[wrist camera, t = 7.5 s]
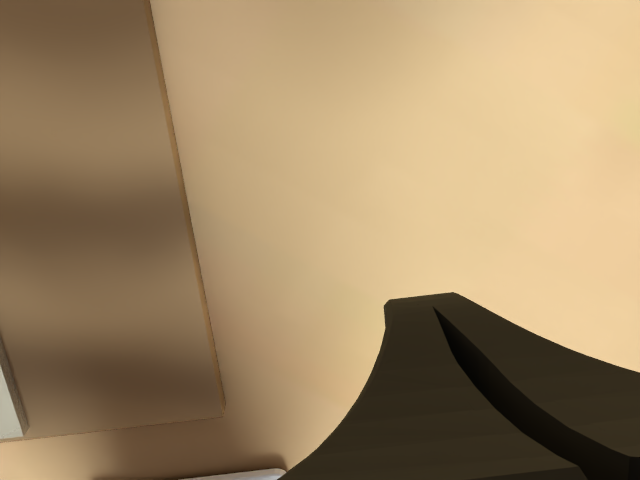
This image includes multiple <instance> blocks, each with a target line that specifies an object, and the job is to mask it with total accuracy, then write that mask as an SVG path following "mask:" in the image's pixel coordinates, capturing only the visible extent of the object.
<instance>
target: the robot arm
mask: <svg viewBox="0 0 640 480" xmlns="http://www.w3.org/2000/svg"><path fill="white" fill-rule="evenodd" d="M384 315H385V327H386V328H385V333H384V337H383V341H382V345H381V349H380V352H379V354H378V357H377V359H376V362H375V365H374V367H373V370H372V372H371V374H370V376H369V379H368V381H367V383H366V384H365V386H364V388H363V390H362V392H361V393H360V395H359V397H358V399H357V400H356V402H355V403H354V405H353V406H352V407H351V409H350V410H349V412H348V413H347V415H346V416H345V418H344V419H343V420H342V422H341V423H340V424H339V425H338V427H337V428H336V429H335V430H334V431H333V432H332V433H331V434H330V435H329V437H328V438H327V439H326V440H325V441H324V442H323V443H322V444H321V445H320V446H319V447H318V448H317V449H316V450H315V451H314V452H313V453H311V454H310V455H309V456H308V457H307V458H305V459H304V460H303V461H301V462H300V463H299V464H297V465H296V466H295V467H293V468H292V469H291V470H289V471H288V472H286V471H285V470H282V469H277V468H274V469H266V470H257V471H249V472H240V473H232V474H223V475H214V476H206V477H197V478H189V479H180V480H640V373H639V372H636V371H632V370H629V369H625V368H622V367H619V366H616V365H613V364H610V363H607V362H604V361H601V360H598V359H595V358H592V357H589V356H586V355H584V354H581V353H578V352H576V351H573V350H571V349H568V348H566V347H563V346H561V345H559V344H556V343H554V342H552V341H550V340H547V339H545V338H543V337H541V336H538V335H536V334H534V333H532V332H530V331H528V330H526V329H524V328H522V327H520V326H518V325H516V324H514V323H512V322H510V321H508V320H506V319H504V318H502V317H500V316H498V315H497V314H495V313H493V312H491V311H489V310H487V309H486V308H484V307H482V306H480V305H478V304H476V303H474V302H473V301H471V300H469V299H467V298H465V297H463V296H461V295H459V294H456V293H454V292H451V293H443V294H434V295H425V296H417V297H408V298H400V299H391V300H389V301H388V302H387V303H386V304H385V305H384Z"/></svg>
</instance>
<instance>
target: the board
mask: <svg viewBox="0 0 640 480" xmlns="http://www.w3.org/2000/svg"><path fill="white" fill-rule="evenodd" d="M0 337H1V340H2V343H3V346H4V349H5V352H6V356H7V359H8V362H9V365H10V368H11V371H12V374H13V377H14V381H15V384H16V387H17V390H18V393H19V396H20V399H21V402H22V406H23V409H24V412H25V415H26V418H27V421H28V424H29V427H30V428H29V429H28V431H27V432H26V433H25V435H24V436H22V437H13V438H4V439H0V443H3V442H11V441H20V440H29V439H37V438H46V437H54V436H63V435H71V434H80V433H89V432H97V431H106V430H114V429H123V428H131V427H140V426H149V425H157V424H166V423H174V422H183V421H191V420H200V419H209V418H217V417H223V414H224V409H225V399H224V394H223V388H222V383H221V378H220V373H219V367H218V362H217V357H216V351H215V346H214V341H213V335H212V330H211V325H210V320H209V314H208V309H207V304H206V298H205V293H204V288H203V282H202V277H201V272H200V267H199V261H198V256H197V251H196V245H195V240H194V235H193V230H192V224H191V219H190V214H189V208H188V203H187V198H186V192H185V187H184V182H183V177H182V171H181V166H180V161H179V155H178V150H177V145H176V139H175V134H174V129H173V124H172V118H171V113H170V108H169V102H168V97H167V92H166V87H165V81H164V76H163V71H162V65H161V60H160V55H159V49H158V44H157V39H156V34H155V28H154V23H153V18H152V12H151V7H150V2H149V0H0Z"/></svg>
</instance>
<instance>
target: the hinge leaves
mask: <svg viewBox="0 0 640 480" xmlns="http://www.w3.org/2000/svg"><path fill="white" fill-rule="evenodd" d="M29 428H30V427H29V424H28V421H27V418H26V415H25V412H24V409H23V406H22V402H21V399H20V396H19V393H18V390H17V387H16V384H15V381H14V377H13V374H12V371H11V368H10V365H9V362H8V359H7V356H6V352H5V349H4V346H3V343H2V340H1V337H0V439H4V438H13V437H22V436H24V435H25V433H26V432H27V431H28V429H29Z"/></svg>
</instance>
